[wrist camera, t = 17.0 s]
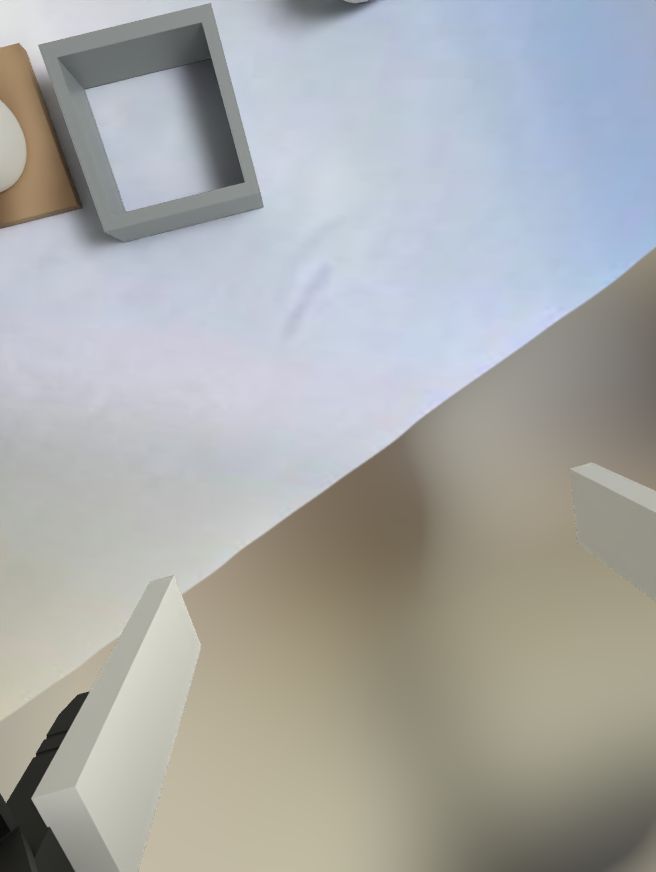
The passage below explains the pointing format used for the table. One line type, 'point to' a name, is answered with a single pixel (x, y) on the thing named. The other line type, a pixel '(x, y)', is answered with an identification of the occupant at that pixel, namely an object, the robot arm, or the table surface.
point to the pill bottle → (10, 148)
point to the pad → (33, 147)
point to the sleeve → (130, 57)
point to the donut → (356, 1)
